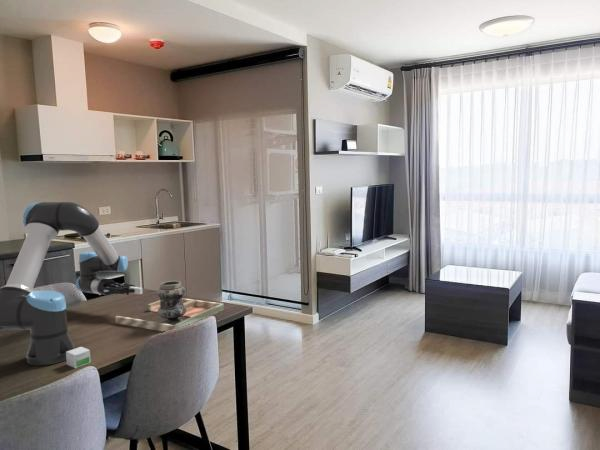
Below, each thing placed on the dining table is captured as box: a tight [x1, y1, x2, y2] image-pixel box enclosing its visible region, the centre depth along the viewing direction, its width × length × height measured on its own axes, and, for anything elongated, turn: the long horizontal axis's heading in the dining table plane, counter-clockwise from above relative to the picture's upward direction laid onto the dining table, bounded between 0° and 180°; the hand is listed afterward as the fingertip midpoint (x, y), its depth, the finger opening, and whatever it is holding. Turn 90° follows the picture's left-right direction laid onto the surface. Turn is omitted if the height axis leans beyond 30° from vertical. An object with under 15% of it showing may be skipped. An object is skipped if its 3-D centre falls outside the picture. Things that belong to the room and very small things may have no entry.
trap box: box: [115, 298, 225, 332], centre depth 209 cm, size 32×34×3 cm
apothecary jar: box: [156, 280, 187, 325], centre depth 198 cm, size 12×12×18 cm
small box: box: [66, 346, 91, 369], centre depth 159 cm, size 6×6×5 cm
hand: (141, 291), depth 207 cm, fingers closed
